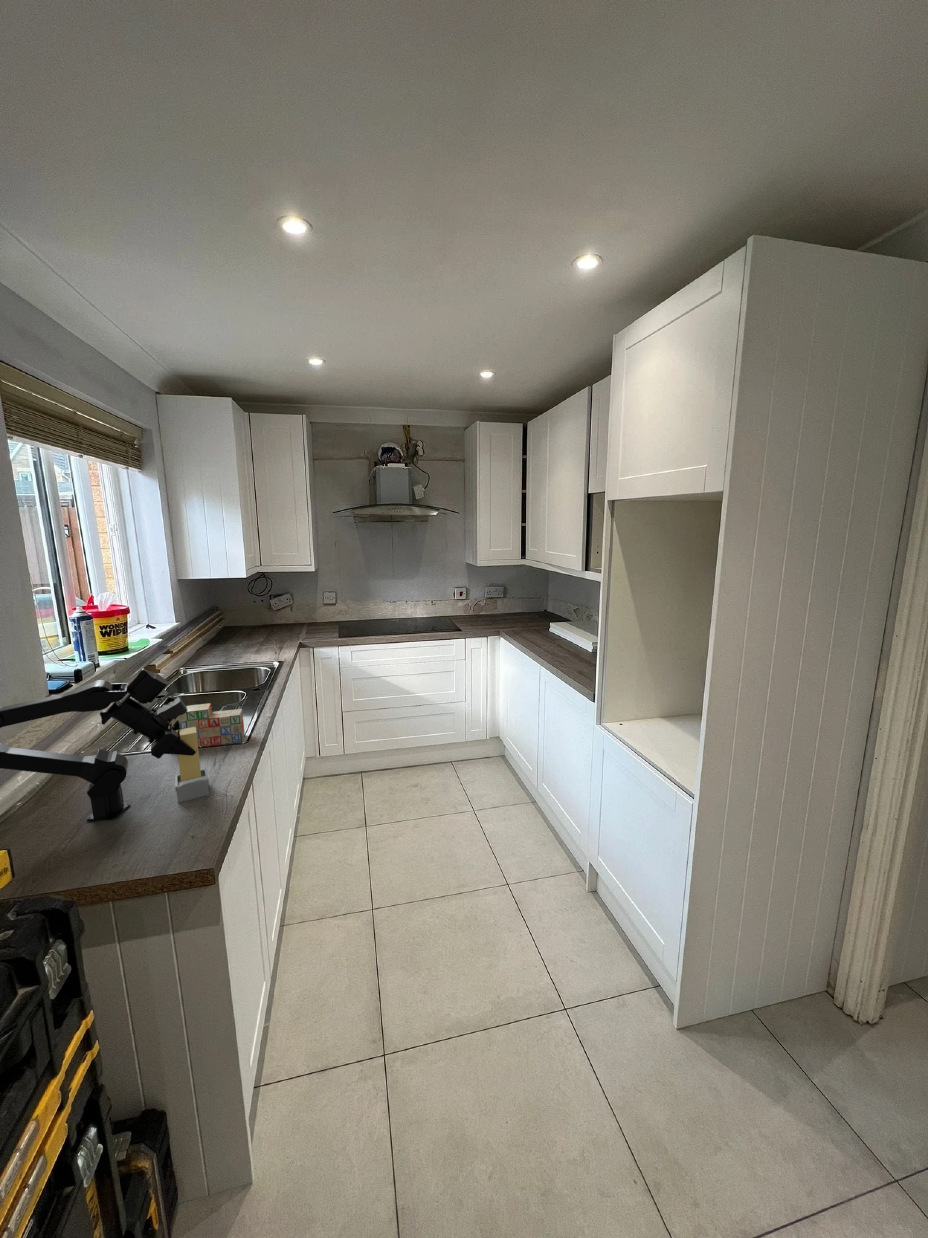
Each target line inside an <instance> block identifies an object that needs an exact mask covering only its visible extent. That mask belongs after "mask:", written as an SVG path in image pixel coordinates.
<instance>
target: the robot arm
mask: <svg viewBox="0 0 928 1238" xmlns="http://www.w3.org/2000/svg"><path fill="white" fill-rule="evenodd" d="M169 685H170V684H169V682H168V681H167V680H166V679H165V678H164V677H162V676H161V674H158V673H157V672H154V671H151V670H147V669H146V668H141V669H140V670H139V671H138V673H137V675H136V676H135V677H134V678H133V679H132V680H130V682H119V683H117V682H115V683H112V682H109V681H107V680H105V679H98V680H95V681H91V682H89V683H86V684H83V685H81V686H79V687H76V688H74V689H72V690H70V691H67V692H64V693H60V694H56V695H52V696H51V695H50V696H46V697H42V698H36V699H33V700H27V701H24V702H20V703H19V702H18V703H14V704H10V705H6V706H5V705H4V706H0V729H1V728H4V727H9V726H13V725H17V724H21V723H26V722H30V721H33V720H37V719H39V720H40V719H42V718H47V717H52V716H56V715H60V714H65V713H70V712H71V713H87V712H97V711H100V712H99V716H100V719H101V725H106V723H108V721H110V719H113V720H115V721H117V722H118V723H120V724H121V725H123V726H125V727H127V728H129V729H130V730H131V732H132V734H134V735H137V734H139V735H141V736H143V737H144V738H146V739H147V742H148V743H150V753H151V756H153V757H154V758H156V759H158V760H159V759H161V758H162V757H163V756H164V755H178V754H179V755H191V756H193V755H194V754H195V753H196V751H195V750H194V749H192V748H191V747H190V746H189V745H188V744H187V743H185V742H184V741H183V740H182V739H181V738H180V731H178V732H176V730H180V725H179V720H177V721H176V722H175V723H174V724H173V723H171V724H170V722H171V721H172V720H173V719H176V718H177V717H178V716H180V715H183V714H185V713H186V712H187V707H186V706H187V705H186V704H185V703H184V701H183V699H182V698H181V697H179V696H177V697H175V696H172V695H170V696H168V697H166V698H165V699H164V700H165V704H162V707H160V708H158V709H157V708H155V707H150V708H148V707H147V706H145V705H143V704H148V703H153V702H154V701H155V700H156V699H157V697H159V695H161V693H162V692H163V691H164V690H165V689H166V688H167V687H168V686H169ZM128 767H129V760H128V758H127V757H126V756H125V755H124V754H121V753H119V751H118V750H113V751H111V750H110V751H109V750H105V749H101V748H99V749H97V751H96V754H92V755H87V756H84V755H76V754H68V753H60V752H53V751H46V750H45V751H44V750H36V749H28V748H21V747H12V746H8V745H6V744H4V743H3V742H0V770H1V769H3V770H11V771H21V772H31V773H40V774H47V775H49V774H50V775H57V776H67V777H68V776H69V777H77V778H80V779H81V780H84V781H86V782H88V783H89V785H88V788H87V791H86V794H87V795H88V797H89V798H90V799H89V800H90V806H91V812H92V813H91V814H90V815H89V816H87V817H86V821H89V822H90V821H91V822H92V821H107V820H108V821H109V820H115V819H117V818H118V817H119V816H120V815H121V814H123V812H125V811H126V810H127V809H128V808H129V807H131V803H130V802H125V803H124V796H123V789H122V785H121V784H122V783H123V782H124V781H125V780H126V778H127V774H128Z"/></svg>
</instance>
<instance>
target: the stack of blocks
mask: <svg viewBox="0 0 928 1238" xmlns="http://www.w3.org/2000/svg"><path fill="white" fill-rule="evenodd" d="M186 707H187V712H186V713H185V714H183V715H180V716H178V717H177V718H176V719H173V720H172V721H171V722H170V724H171V723H173V724H174V723H175V722H176V721H177V720H179V725H180V729H186V728H191V727H196V733H197V742H198V747H200V746H206V747H211V746H213V745H214V746H219V745H220V744H221V745H226V744H225V743H229V744H234V743H235V744H237V743H242V742H244V738H245V735H246V734H245V728H244V727H245V724H244V715H243V709H242V708H238V709H237V708H236V709H228V710H218V711H217V710H216V711H213V709H212V703H200V704H191V705H186ZM236 742H237V743H236ZM200 748H201V747H200Z"/></svg>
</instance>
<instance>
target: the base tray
mask: <svg viewBox="0 0 928 1238" xmlns="http://www.w3.org/2000/svg"><path fill="white" fill-rule="evenodd" d="M200 770H201V777H200V778H195V779H191V780H186V781H182V782H181V777H180V773H179V774H176V775H174V785H175V786H174V787H175V792H176V798H177V803H178V804H179V803H183V802H187V801H190V800H194V799H198V798H202V797H203V798H204V797H207V796H210V789H209V788H210V787H209V776H208V771H207V770H208V769H207V768H201V769H200Z"/></svg>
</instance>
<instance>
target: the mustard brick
mask: <svg viewBox="0 0 928 1238" xmlns="http://www.w3.org/2000/svg"><path fill="white" fill-rule="evenodd" d="M178 731H180V738H181V739H182V740H183V741H184V742H185V743H187V744H188V745H189V746H190V747H191V748H192V749H194V750H195V751H196V753H195V754H194V755H193V756H191V755H179V754H177V756H178V757H177V759H178V766H179V767H178V769H179V774H180V777H181V782H182V781H186V780H191V779H195V778H200V777H201V770H202V769H201V762H200V753H199V748H198V742H197V733H196V727H191V728H186V729H180V730H176V732H178Z"/></svg>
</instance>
